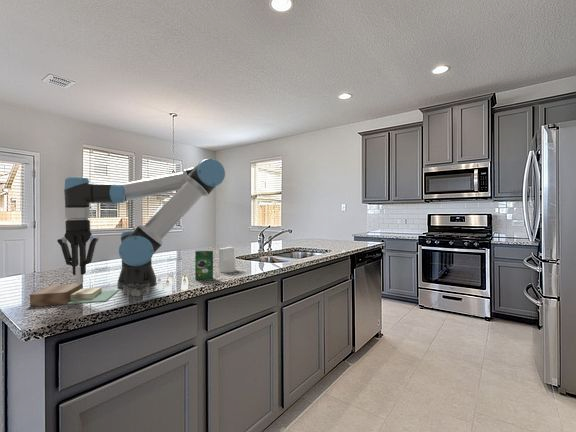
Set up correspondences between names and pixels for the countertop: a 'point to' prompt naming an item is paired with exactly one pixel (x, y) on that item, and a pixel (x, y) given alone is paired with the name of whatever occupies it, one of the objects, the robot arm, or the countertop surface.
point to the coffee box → (203, 265)
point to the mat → (97, 297)
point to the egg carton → (136, 289)
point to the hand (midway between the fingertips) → (79, 283)
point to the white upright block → (226, 260)
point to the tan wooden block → (54, 294)
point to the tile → (86, 293)
